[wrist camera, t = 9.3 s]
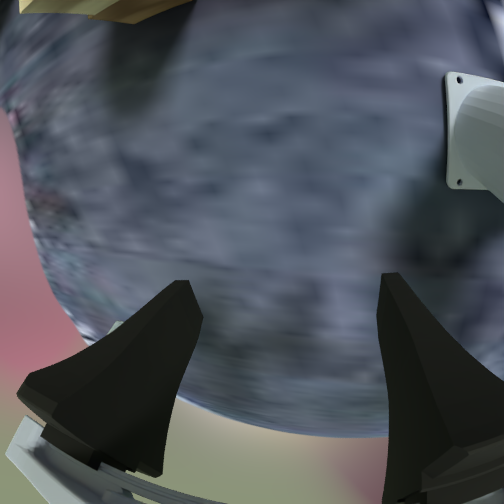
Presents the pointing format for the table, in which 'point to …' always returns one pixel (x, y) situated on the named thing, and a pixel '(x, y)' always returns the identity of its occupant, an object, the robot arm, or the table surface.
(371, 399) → the table surface
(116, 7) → the tan wooden cube
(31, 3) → the oak block
